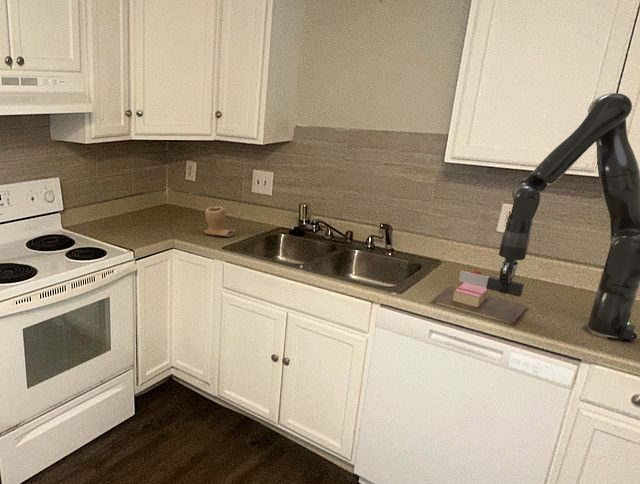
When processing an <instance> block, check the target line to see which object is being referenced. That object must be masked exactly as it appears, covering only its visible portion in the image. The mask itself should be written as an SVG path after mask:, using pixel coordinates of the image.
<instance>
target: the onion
mask: <svg viewBox="0 0 640 484" xmlns="http://www.w3.org/2000/svg"><path fill="white" fill-rule="evenodd" d="M470 273H474V274H478V275H482V273H481V272H480V271H479V269H477V268H476V269H474V270H473V271H471V272H470Z"/></svg>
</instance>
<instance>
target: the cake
mask: <svg viewBox="0 0 640 484" xmlns="http://www.w3.org/2000/svg"><path fill="white" fill-rule="evenodd" d="M457 288H458V289H461V290H465V291H469V292H473V293H478V294H482V297H481V301H480V304H481V303H482V302H483V301H484V300H485V299H486V298H487V297H488V296H489V293H490V289H486V288H485V287H481V286H477V285H473V284H469V283H465V282H462V284H461V285H459V286H458V287H457Z"/></svg>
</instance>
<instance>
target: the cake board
mask: <svg viewBox="0 0 640 484" xmlns="http://www.w3.org/2000/svg"><path fill="white" fill-rule="evenodd" d="M456 289H458V287H453V286H449V288H447V289H446V290H444V291H443V292H442V293H441V294H440V295H439V296H437V297H435V299H433V300H432V301H433V302H435V303H438V304H443V305H446V306H451V307H454V308H457V309H462V310H465V311H469V312H473V313H476V314H480V315H484V316H488V317H491V318H494V319H498V320H501V321H506V322H509V323H513V324H514V323H515V322H516V321H517V319H519V317H520V316H521V315H522V313H523V312H524V310H525V309H527V307H528V305H527V304H522V303H519V302H514V301H511V300H506V299H502V298H497V297H495V296H490V295H488V297H487V298H486V299H485V300H484V301H483V302H482V303H481V304H480V305H479V306H478V307H474V306H470V305H467V304H463V303H459V302H455V301H453V296H454V291H455V290H456Z"/></svg>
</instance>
